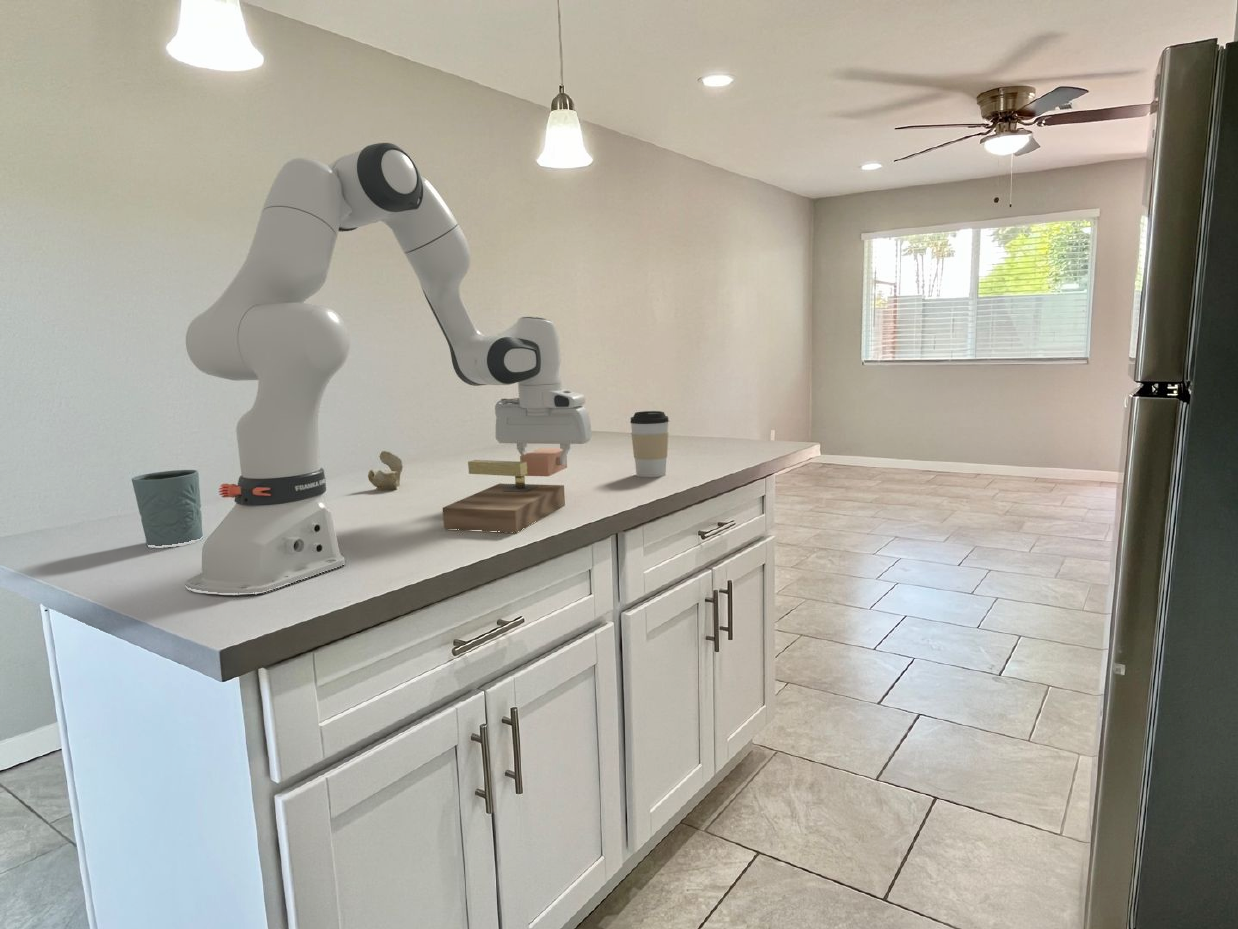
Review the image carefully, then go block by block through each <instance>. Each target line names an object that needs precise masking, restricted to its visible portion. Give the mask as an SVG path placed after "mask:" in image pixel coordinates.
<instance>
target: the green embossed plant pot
mask: <svg viewBox="0 0 1238 929" xmlns="http://www.w3.org/2000/svg"><path fill="white" fill-rule="evenodd" d="M199 476H200V475H199V471H198V470H197V469H179V470H178V469H177V470H176V469H175V470H168V471H167V470H166V471H165V470H164V471H158V472H151V473H145V474H140V475H136V476H134V477H132V478H131V482H132V487H133V491H134V494H135V499H136V504H137V507H138V511H139V512H138V513H139V515H140V518H141V519H140V520H141V525H142V528H143V533H144V536H145V537H144V538H145V541H146V542H145V543H146V545H147V544H148V545H155V546H162V545H172V544H178V543H184V542H189V541H191V540H197V539H200V538H201V537H202V536H203V537H204V535H203V520H202V510H201V508H202V507H201V506H202V504H201V491H200V490H201V489H200V477H199Z"/></svg>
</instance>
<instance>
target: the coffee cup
mask: <svg viewBox="0 0 1238 929" xmlns="http://www.w3.org/2000/svg"><path fill="white" fill-rule="evenodd" d="M669 422H670V420H669V416H668V415H666V413H665V412H664V411H662V410H660V411H659V410H650V411H649V410H644V411H637V412H634V414H633V416H631V417H630V426H631V442H632V443H631V444H632V451H633V457H634V463H635V464H634V465H635V471H636V476H637V477H639V478H659V477H664V476H666V473H667V458H668V449H669V448H668V447H669V446H668V444H669Z"/></svg>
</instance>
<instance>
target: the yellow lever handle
mask: <svg viewBox="0 0 1238 929" xmlns="http://www.w3.org/2000/svg"><path fill="white" fill-rule="evenodd" d="M467 467H468V469H467V470H468V474H469V475H483V476H484V475H486V476H503V477H504V476H507V477H514V482H515V483H514V484H516V488H525V484H526V481H525V480H526V479H525V477H526V476H524V475H527V462H520V461H514V460H512V461H511V460H510V461H509V460H494V459H493V460H490V459H489V460H488V459H472V460H469V461H468V462H467Z"/></svg>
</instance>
